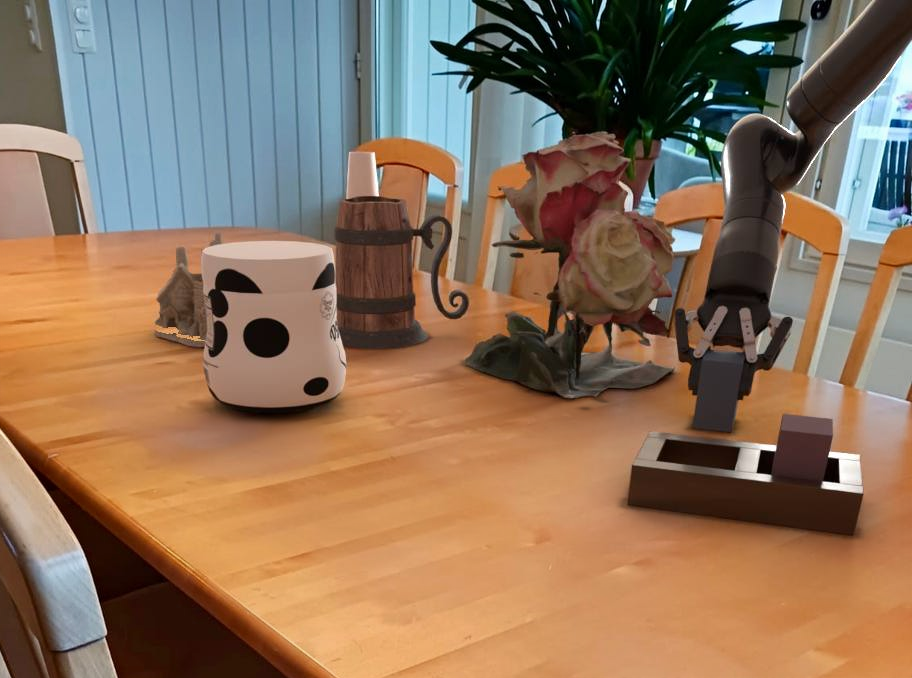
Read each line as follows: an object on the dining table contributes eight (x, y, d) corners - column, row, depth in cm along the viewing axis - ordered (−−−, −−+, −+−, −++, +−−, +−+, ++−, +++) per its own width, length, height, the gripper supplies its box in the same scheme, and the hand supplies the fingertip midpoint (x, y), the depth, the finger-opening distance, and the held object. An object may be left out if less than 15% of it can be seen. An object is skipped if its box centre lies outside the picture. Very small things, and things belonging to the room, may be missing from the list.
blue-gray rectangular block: (697, 415, 119) (707, 349, 115) (735, 419, 118) (746, 352, 114) (692, 428, 115) (702, 359, 111) (731, 432, 113) (742, 363, 109)
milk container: (374, 398, 124) (372, 247, 115) (285, 432, 111) (274, 266, 102) (272, 377, 132) (262, 235, 123) (177, 407, 119) (159, 251, 110)
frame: (853, 535, 87) (863, 493, 85) (627, 504, 93) (631, 465, 91) (850, 493, 97) (860, 454, 95) (644, 467, 102) (649, 430, 100)
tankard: (327, 349, 146) (321, 205, 136) (317, 326, 161) (311, 193, 151) (478, 345, 150) (484, 204, 140) (455, 322, 165) (459, 193, 155)
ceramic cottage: (164, 322, 160) (154, 225, 152) (263, 328, 160) (259, 232, 152) (136, 351, 147) (124, 246, 139) (244, 357, 147) (238, 253, 139)
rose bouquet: (587, 410, 120) (612, 138, 105) (446, 361, 141) (450, 128, 126) (722, 380, 134) (761, 135, 119) (575, 340, 154) (593, 126, 139)
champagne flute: (342, 290, 189) (337, 152, 177) (355, 284, 194) (351, 150, 182) (374, 293, 187) (372, 153, 175) (386, 287, 192) (385, 152, 181)
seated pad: (767, 492, 96) (782, 413, 92) (815, 498, 95) (832, 418, 91) (764, 512, 92) (780, 429, 88) (814, 518, 91) (833, 435, 87)
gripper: (682, 244, 115) (655, 371, 111) (809, 251, 111) (785, 383, 107) (682, 284, 122) (656, 404, 118) (801, 292, 118) (778, 417, 114)
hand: (718, 393), depth 113 cm, fingers closed on blue-gray rectangular block, 4 cm apart
